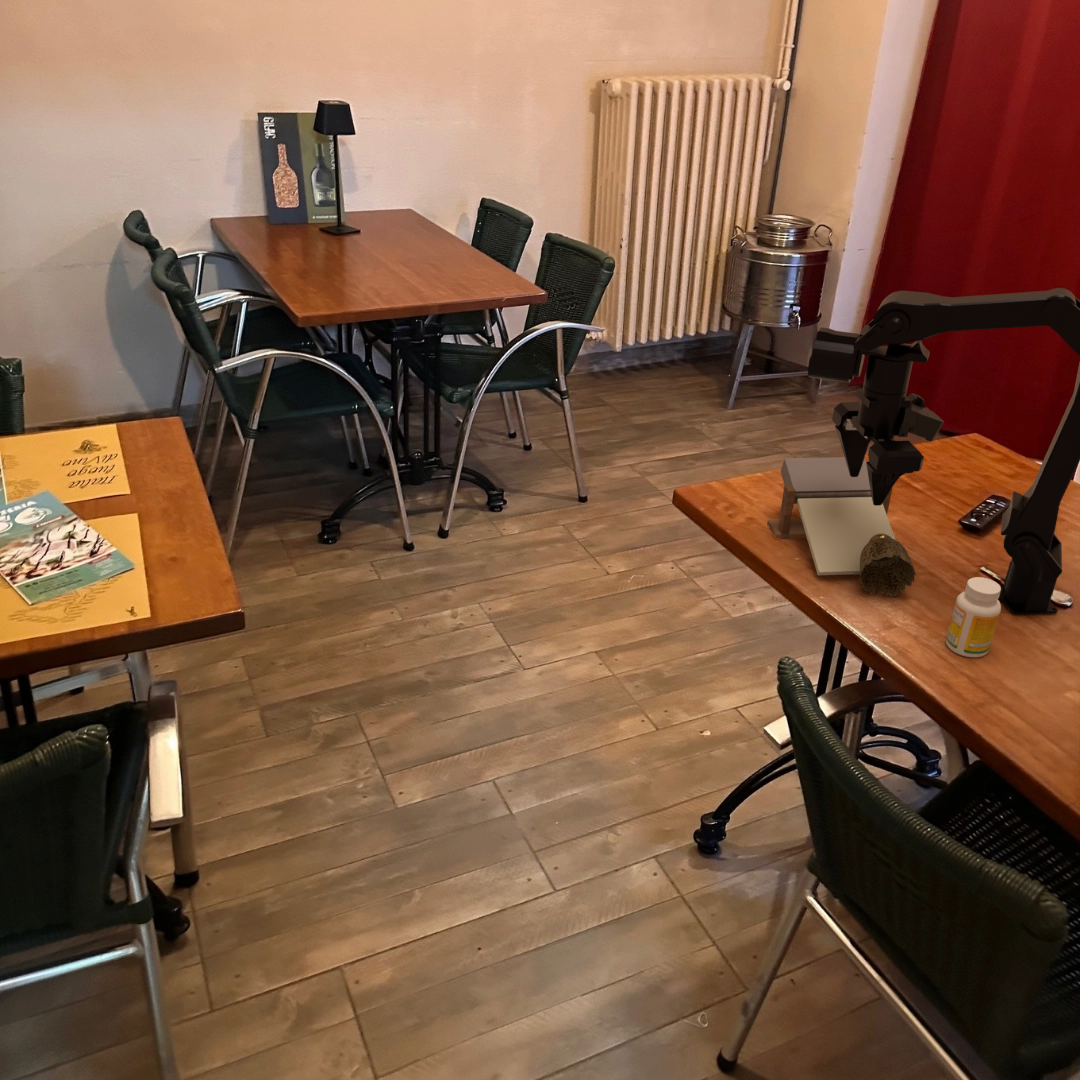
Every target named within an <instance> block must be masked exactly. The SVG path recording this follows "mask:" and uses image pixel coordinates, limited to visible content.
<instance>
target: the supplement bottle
mask: <svg viewBox="0 0 1080 1080" xmlns="http://www.w3.org/2000/svg"><path fill="white" fill-rule="evenodd" d="M1001 587H1002V586H1001V585H1000V584H999V583H997V582H996V581H994V580H993V579H990V578H986V577H982V576H981V577H980V576H975V577H972V578H969V579H968V580H967V582H966V586H965V588H964V589H965V591H962V592H961V593H959V594H958V596H957V597H956V598H955V599H956V600H955V604H954V608H953V610H952V615H951V619H950V623H949V626H948V629H947V633H946V637H945V643H946V646H947V647H948V648H949V649H950V650H951V651H952V652H954V653H955V654H957V655H959V656H963V657H968V658H981V657H984V656H985V655H987V654H988V652H989V651H990V648H991V645H992V642H993V637H994V634H995V633H996V632H995V631H996V627H997V624H998V621H999V617H1000V614H1001V611H1002V605H1001V603H1000V600H998V599H999V595H1000V591H1001Z"/></svg>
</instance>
